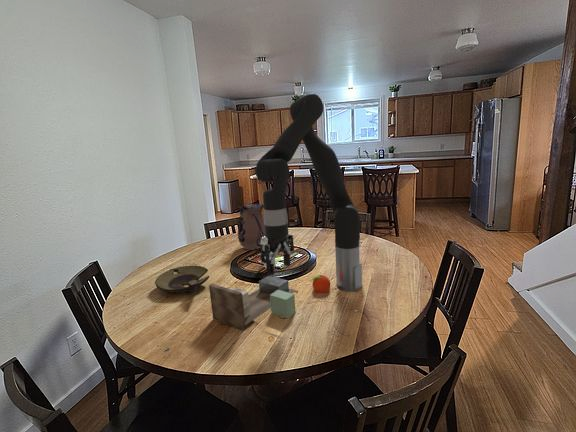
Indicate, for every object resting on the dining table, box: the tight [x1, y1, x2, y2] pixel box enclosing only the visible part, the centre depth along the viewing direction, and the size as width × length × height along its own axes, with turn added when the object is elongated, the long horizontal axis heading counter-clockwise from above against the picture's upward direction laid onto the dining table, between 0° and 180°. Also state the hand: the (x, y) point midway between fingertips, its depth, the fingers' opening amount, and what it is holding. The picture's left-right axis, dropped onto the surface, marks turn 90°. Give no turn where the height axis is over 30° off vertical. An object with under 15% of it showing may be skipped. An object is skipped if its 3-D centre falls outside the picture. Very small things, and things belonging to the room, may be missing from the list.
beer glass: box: [261, 237, 277, 269], centre depth 150 cm, size 7×7×15 cm
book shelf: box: [208, 283, 297, 332], centre depth 116 cm, size 14×30×13 cm, turn 143°
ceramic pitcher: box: [237, 203, 266, 251], centre depth 182 cm, size 18×21×25 cm
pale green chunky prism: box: [270, 290, 296, 319], centre depth 108 cm, size 7×4×8 cm, turn 53°
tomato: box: [310, 274, 331, 294], centre depth 123 cm, size 8×7×7 cm
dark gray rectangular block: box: [258, 275, 290, 295], centre depth 124 cm, size 10×6×4 cm, turn 53°
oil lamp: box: [154, 265, 210, 293], centre depth 135 cm, size 22×30×8 cm
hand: (279, 269), depth 105 cm, fingers open, 8 cm apart
